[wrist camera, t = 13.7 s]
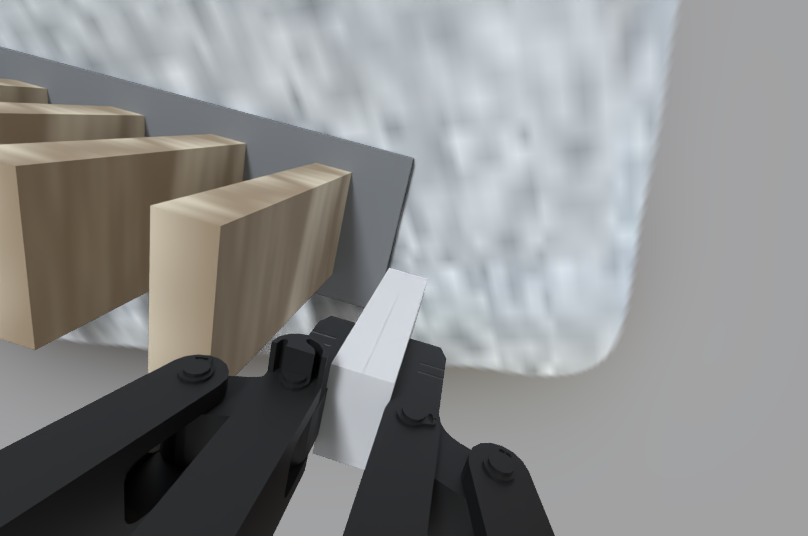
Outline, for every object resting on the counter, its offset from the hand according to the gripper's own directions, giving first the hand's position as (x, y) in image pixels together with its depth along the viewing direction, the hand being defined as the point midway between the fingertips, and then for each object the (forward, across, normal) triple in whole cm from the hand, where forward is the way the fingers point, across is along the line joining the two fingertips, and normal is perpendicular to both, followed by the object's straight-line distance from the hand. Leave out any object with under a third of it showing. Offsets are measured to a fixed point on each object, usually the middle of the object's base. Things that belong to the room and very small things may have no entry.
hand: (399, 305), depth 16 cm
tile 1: (+8, -6, 0) cm, 9 cm away
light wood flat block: (+8, -12, 0) cm, 14 cm away
